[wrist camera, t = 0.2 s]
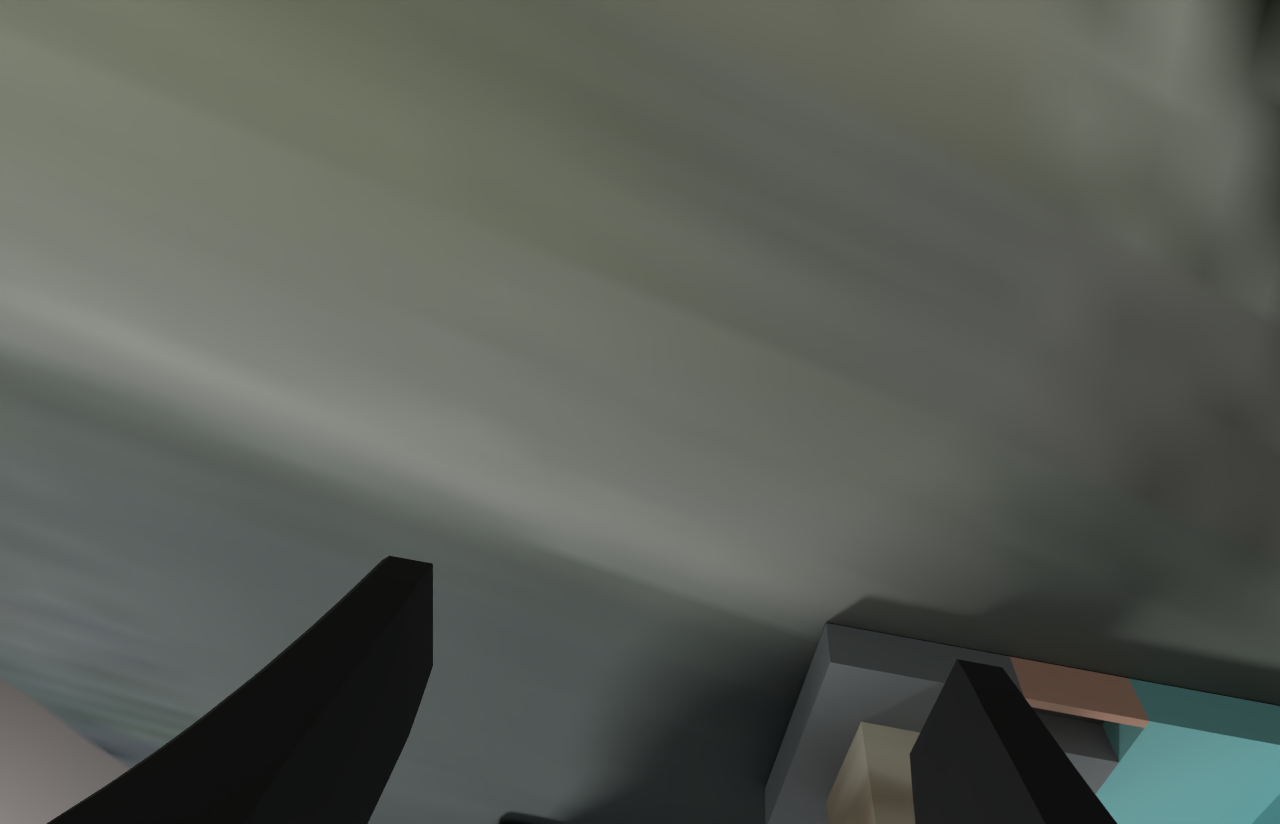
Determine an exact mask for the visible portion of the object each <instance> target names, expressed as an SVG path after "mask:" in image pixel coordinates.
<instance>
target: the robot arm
mask: <svg viewBox="0 0 1280 824" xmlns="http://www.w3.org/2000/svg"><path fill="white" fill-rule="evenodd" d="M432 667H433V564H432V563H426V562H421V561H415V560H410V559H404V558H399V557H393V556H388V557H387V558H385V559H383V560H382V561H381V562H380V563H379V564H378V565H377V566H376V567H375V568H373V569H372V570H371V571H370V572H369V573H368V574H367V575H366V576H365V577H364V578H363V579H362V580H361V581H360V582H359V583H358V584H357V585H356V586H355V587H354V588H353V589H352V590H351V591H350V592H348V593H347V594H346V595H345V596H344V597H343V598H342V599H341V600H340V601H339V602H338V603H337V604H336V605H335V606H333V607H332V608H331V609H330V610H329V611H328V612H327V613H326V614H325V615H324V616H323V617H321V618H320V619H319V620H318V621H317V622H316V623H315V624H314V625H313V626H312V627H310V628H309V629H308V630H307V631H306V632H305V633H304V634H302V635H301V636H300V637H299V638H298V639H297V640H295V641H294V642H293V643H292V644H291V645H290V646H289V647H287V648H286V649H285V650H284V651H283V652H282V653H281V654H279V655H278V656H277V657H276V658H275V659H274V660H272V661H271V662H270V663H269V664H268V665H267V666H265V667H264V668H263V669H262V670H261V671H259V672H258V673H257V674H256V675H255V676H253V677H252V678H251V679H250V680H248V681H247V682H246V683H245V684H243V685H242V686H241V687H240V688H238V689H237V690H236V691H235V692H233V693H232V694H231V695H229V696H228V697H227V698H226V699H224V700H223V701H222V702H221V703H219V704H218V705H217V706H216V707H214V708H213V709H212V710H211V711H209V712H208V713H207V714H205V715H204V716H203V717H202V718H200V719H199V720H198V721H196V722H195V723H194V724H193V725H191V726H190V727H188V728H187V729H186V730H184V731H183V732H182V733H180V734H179V735H178V736H176V737H175V738H174V739H172V740H171V741H170V742H168V743H167V744H165V745H164V746H163V747H161V748H160V749H158V750H157V751H156V752H154V753H153V754H151V755H150V756H149V757H147V758H146V759H144V760H143V761H141V762H140V763H138V764H137V765H135V766H134V767H133V768H131V769H130V770H128V771H127V772H125V773H124V774H122V775H121V776H120V777H118V778H117V779H115V780H114V781H112V782H111V783H109V784H108V785H106V786H105V787H103V788H102V789H100V790H98V791H97V792H95V793H94V794H92V795H91V796H89V797H88V798H86V799H84V800H83V801H81V802H80V803H78V804H77V805H75V806H73V807H72V808H70V809H69V810H67V811H66V812H64V813H62V814H61V815H59V816H58V817H56V818H55V819H53V820H52V821H50V822H48V823H47V824H367V823H368V821H369V819H370V817H371V815H372V813H373V811H374V809H375V807H376V805H377V802H378V800H379V798H380V796H381V794H382V792H383V790H384V788H385V786H386V783H387V781H388V779H389V777H390V775H391V773H392V771H393V769H394V766H395V764H396V762H397V760H398V758H399V756H400V754H401V751H402V749H403V747H404V745H405V743H406V741H407V738H408V736H409V733H410V731H411V728H412V725H413V722H414V719H415V717H416V714H417V711H418V708H419V705H420V702H421V699H422V696H423V693H424V690H425V687H426V684H427V681H428V678H429V676H430V673H431V670H432ZM910 766H911V780H912V793H913V804H914V814H915V824H1117V822H1116V821H1115V820H1114V818H1113V817H1112V816H1111V815H1110V813H1109V812H1108V811H1107V809H1106V808H1105V807H1104V805H1103V804H1102V803H1101V801H1100V800H1099V799H1098V797H1097V796H1096V795H1095V793H1094V792H1093V791H1092V789H1091V788H1090V787H1089V785H1088V784H1087V783H1086V781H1085V780H1084V779H1083V777H1082V776H1081V775H1080V773H1079V772H1078V771H1077V769H1076V768H1075V766H1074V765H1073V764H1072V762H1071V761H1070V760H1069V758H1068V757H1067V755H1066V754H1065V753H1064V751H1063V750H1062V749H1061V747H1060V746H1059V744H1058V743H1057V742H1056V740H1055V739H1054V738H1053V736H1052V735H1051V733H1050V732H1049V731H1048V729H1047V728H1046V727H1045V725H1044V724H1043V722H1042V721H1041V720H1040V718H1039V717H1038V715H1037V714H1036V713H1035V711H1034V710H1033V708H1032V707H1031V706H1030V704H1029V703H1028V702H1027V700H1026V699H1025V697H1024V696H1023V695H1022V693H1021V692H1020V690H1019V689H1018V688H1017V686H1016V685H1015V684H1014V682H1013V681H1012V680H1011V678H1010V677H1009V676H1008V674H1007V673H1006V672H1005V670H1004V669H1003V668H1002V667H998V666H992V665H987V664H981V663H976V662H970V661H965V660H959V659H957V660H956V662H955V664H954V666H953V668H952V670H951V672H950V674H949V676H948V678H947V680H946V682H945V684H944V686H943V688H942V690H941V692H940V694H939V696H938V698H937V700H936V702H935V704H934V706H933V708H932V710H931V712H930V714H929V716H928V718H927V720H926V722H925V724H924V726H923V728H922V730H921V732H920V734H919V736H918V738H917V740H916V742H915V744H914V746H913V748H912V750H911V752H910Z"/></svg>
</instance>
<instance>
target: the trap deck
mask: <svg viewBox="0 0 1280 824" xmlns="http://www.w3.org/2000/svg"><path fill="white" fill-rule="evenodd" d="M957 659H959V660H965V661H970V662H976V663H981V664H987V665H992V666H998V667H1002V668H1003V669H1004V670H1005V672H1006V673H1007V674H1008V676H1009V677H1010V678H1011V680H1012V681H1013V682H1014V684H1015V685H1016V686H1017V688H1018V689H1019V690H1020V692H1021V693H1022V695H1023V696H1024V697H1025V699H1026V700H1027V702H1028V703H1029V704H1030V706H1031V707H1032V708H1033V710H1034V711H1035V713H1036V714H1037V715H1038V717H1039V718H1040V720H1041V721H1042V722H1043V724H1044V725H1045V727H1046V728H1047V729H1048V731H1049V732H1050V733H1051V735H1052V736H1053V738H1054V739H1055V740H1056V742H1057V743H1058V744H1059V746H1060V747H1061V749H1062V750H1063V751H1064V753H1065V754H1066V755H1067V757H1068V758H1069V760H1070V761H1071V762H1072V764H1073V765H1074V766H1075V768H1076V769H1077V771H1078V772H1079V773H1080V775H1081V776H1082V777H1083V779H1084V780H1085V781H1086V783H1087V784H1088V785H1089V787H1090V788H1091V789H1092V791H1093V792H1094V793H1095V795H1096V796H1097V797H1098V799H1099V800H1100V801H1101V803H1102V804H1103V805H1104V807H1105V808H1106V809H1107V811H1108V812H1109V813H1110V815H1111V816H1112V817H1113V818H1114V820H1115V821H1116V822H1117V824H1280V706H1277V705H1271V704H1266V703H1260V702H1255V701H1249V700H1244V699H1238V698H1233V697H1228V696H1222V695H1217V694H1211V693H1206V692H1200V691H1195V690H1189V689H1184V688H1178V687H1173V686H1167V685H1162V684H1157V683H1151V682H1146V681H1140V680H1135V679H1129V678H1124V677H1118V676H1113V675H1107V674H1102V673H1096V672H1091V671H1086V670H1080V669H1075V668H1069V667H1064V666H1058V665H1053V664H1047V663H1042V662H1036V661H1031V660H1025V659H1020V658H1015V657H1009V656H1004V655H998V654H993V653H987V652H982V651H976V650H971V649H965V648H960V647H954V646H949V645H944V644H938V643H933V642H927V641H922V640H916V639H911V638H905V637H900V636H894V635H889V634H883V633H878V632H873V631H867V630H862V629H856V628H851V627H845V626H840V625H834V624H829V623H826V624H825V627H824V630H823V632H822V635H821V638H820V640H819V643H818V646H817V649H816V651H815V654H814V657H813V659H812V662H811V665H810V668H809V670H808V673H807V676H806V678H805V681H804V684H803V687H802V689H801V692H800V695H799V698H798V700H797V703H796V706H795V708H794V711H793V714H792V717H791V719H790V722H789V725H788V727H787V730H786V733H785V736H784V738H783V741H782V744H781V746H780V749H779V752H778V755H777V757H776V760H775V763H774V765H773V768H772V771H771V774H770V776H769V779H768V782H767V785H766V787H765V824H828V814H827V802H826V800H827V798H828V796H829V793H830V791H831V789H832V787H833V784H834V782H835V780H836V778H837V775H838V773H839V771H840V768H841V766H842V764H843V762H844V759H845V757H846V755H847V753H848V750H849V748H850V746H851V744H852V741H853V739H854V737H855V735H856V732H857V730H858V728H859V725H860V723H861V722H866V723H871V724H876V725H882V726H887V727H893V728H898V729H903V730H909V731H914V732H919V733H920V732H921V730H922V728H923V726H924V724H925V722H926V720H927V718H928V716H929V714H930V712H931V710H932V708H933V706H934V704H935V702H936V700H937V698H938V696H939V694H940V692H941V690H942V688H943V686H944V684H945V682H946V680H947V678H948V676H949V674H950V672H951V670H952V668H953V666H954V664H955V662H956V660H957Z"/></svg>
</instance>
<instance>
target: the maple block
mask: <svg viewBox="0 0 1280 824" xmlns="http://www.w3.org/2000/svg"><path fill="white" fill-rule="evenodd" d="M919 734H920V733H919V732H914V731H909V730H903V729H898V728H893V727H887V726H882V725H876V724H871V723H866V722H861V723H860V725H859V728H858V730H857V732H856V735H855V737H854V739H853V741H852V744H851V746H850V748H849V750H848V753H847V755H846V757H845V759H844V762H843V764H842V766H841V768H840V771H839V773H838V775H837V778H836V780H835V782H834V784H833V787H832V789H831V791H830V793H829V796H828V798H827V800H826V802H827V814H828V824H915V814H914V804H913V793H912V780H911V766H910V752H911V750H912V748H913V746H914V744H915V742H916V740H917V738H918V736H919Z"/></svg>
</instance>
